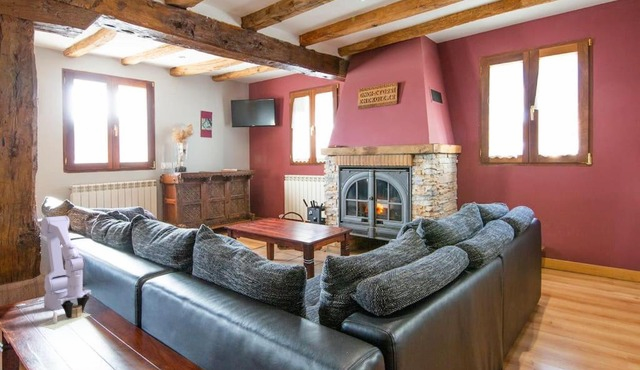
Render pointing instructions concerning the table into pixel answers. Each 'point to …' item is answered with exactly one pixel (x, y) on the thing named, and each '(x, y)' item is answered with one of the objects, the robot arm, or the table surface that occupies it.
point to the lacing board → (60, 321)
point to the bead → (76, 311)
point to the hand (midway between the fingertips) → (74, 314)
